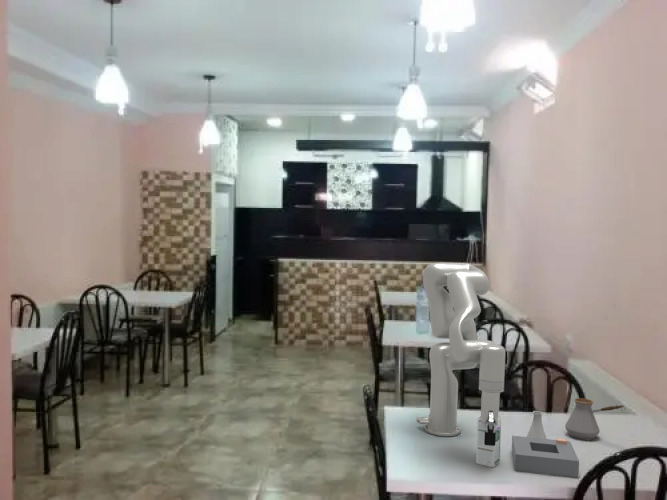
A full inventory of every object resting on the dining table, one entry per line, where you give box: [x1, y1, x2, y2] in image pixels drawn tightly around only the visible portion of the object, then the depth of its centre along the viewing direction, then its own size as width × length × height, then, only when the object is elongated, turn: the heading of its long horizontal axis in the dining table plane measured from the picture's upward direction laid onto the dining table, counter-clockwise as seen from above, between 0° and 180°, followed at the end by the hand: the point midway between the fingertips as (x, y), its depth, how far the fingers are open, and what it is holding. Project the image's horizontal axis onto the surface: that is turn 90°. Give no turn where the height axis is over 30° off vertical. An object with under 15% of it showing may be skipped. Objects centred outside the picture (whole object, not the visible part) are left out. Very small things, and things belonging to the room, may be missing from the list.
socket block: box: [511, 435, 580, 479], centre depth 200 cm, size 18×18×6 cm
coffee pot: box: [565, 397, 626, 441], centre depth 224 cm, size 21×12×15 cm, turn 32°
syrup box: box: [475, 415, 502, 468], centre depth 199 cm, size 6×6×14 cm
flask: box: [526, 410, 547, 439], centre depth 222 cm, size 7×7×10 cm
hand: (489, 440), depth 199 cm, fingers open, 9 cm apart
